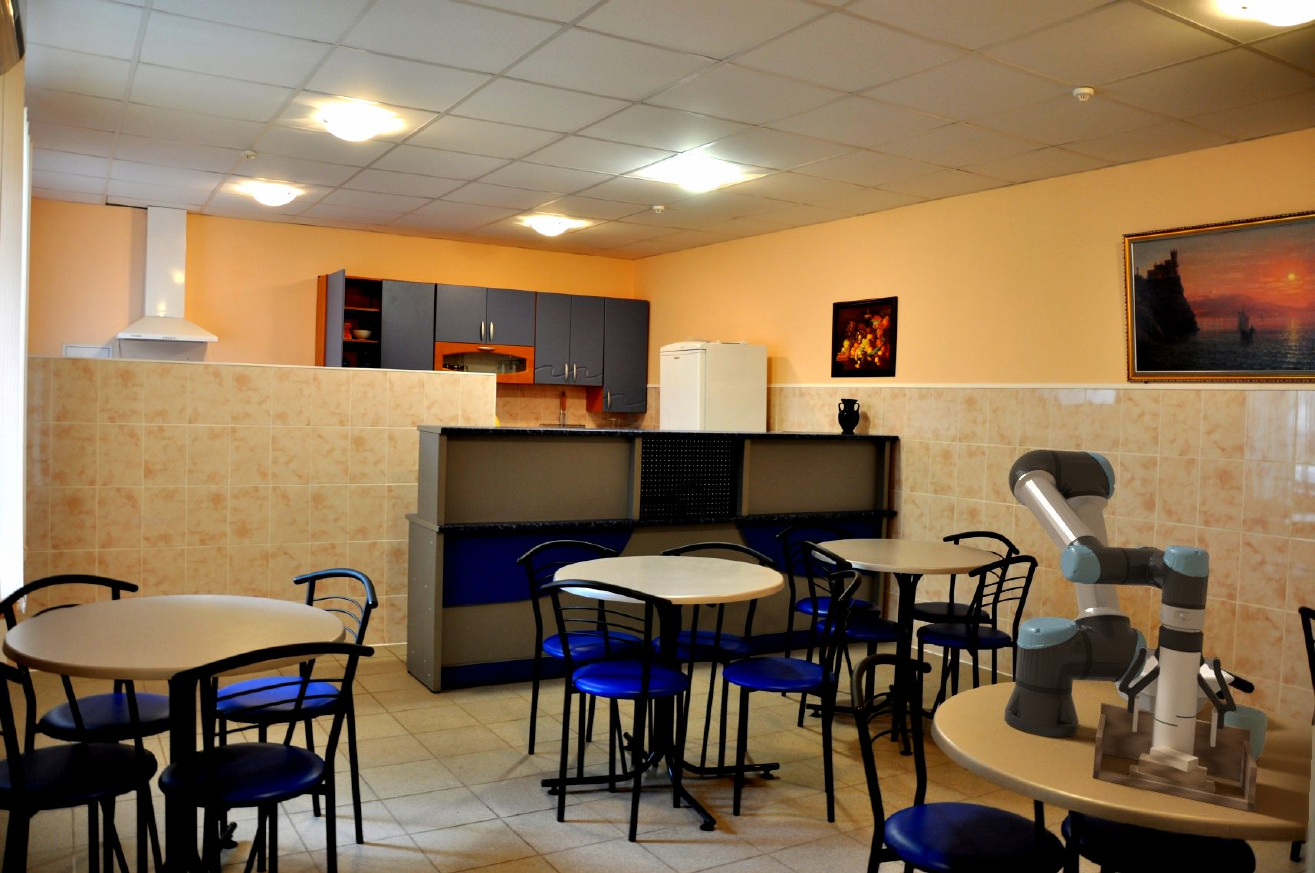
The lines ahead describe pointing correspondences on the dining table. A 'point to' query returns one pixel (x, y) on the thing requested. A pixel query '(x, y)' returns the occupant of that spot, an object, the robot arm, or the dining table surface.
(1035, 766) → the dining table surface
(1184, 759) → the offcut top
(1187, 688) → the cylindrical container
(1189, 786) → the offcut bottom
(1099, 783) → the dining table surface
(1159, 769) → the offcut middle
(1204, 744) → the rack
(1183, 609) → the robot arm
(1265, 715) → the cup
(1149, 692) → the bowl
